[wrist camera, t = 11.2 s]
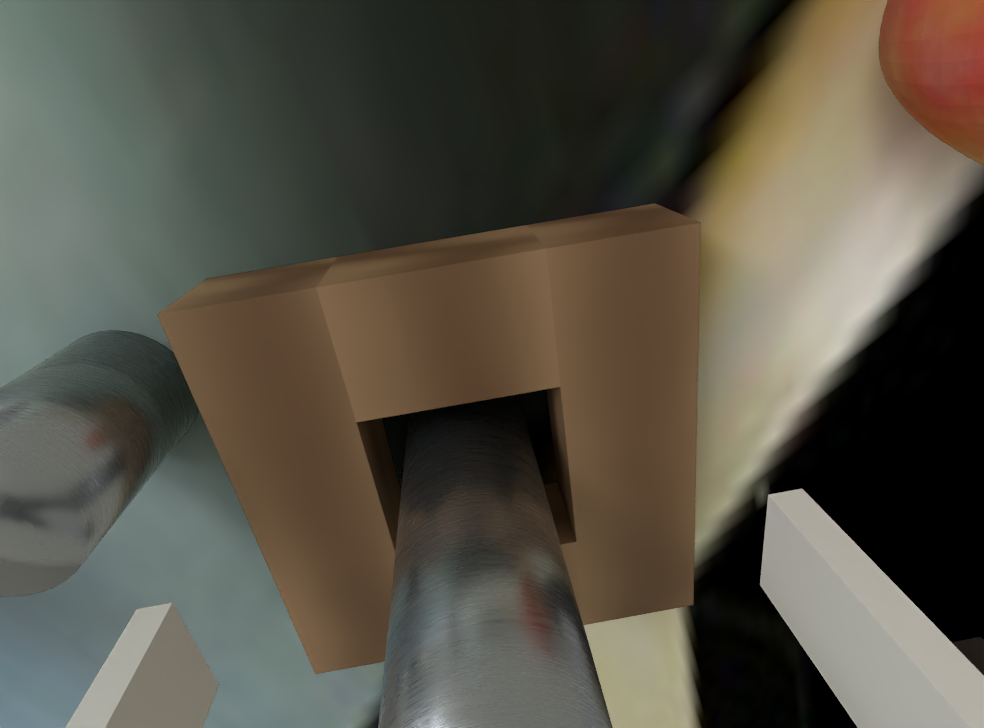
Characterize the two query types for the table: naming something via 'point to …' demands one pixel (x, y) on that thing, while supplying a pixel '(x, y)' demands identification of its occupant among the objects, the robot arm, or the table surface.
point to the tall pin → (482, 585)
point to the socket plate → (457, 403)
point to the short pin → (82, 450)
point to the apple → (938, 67)
